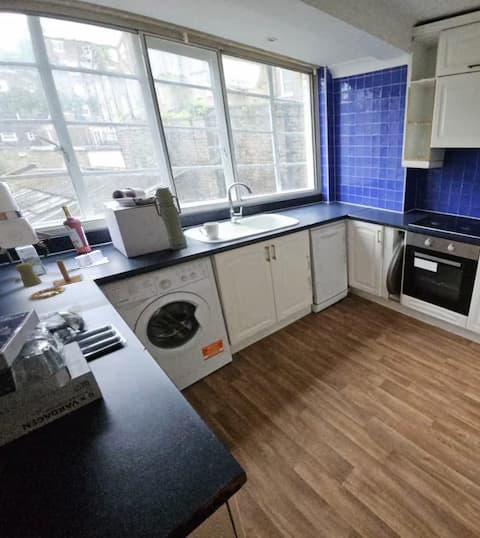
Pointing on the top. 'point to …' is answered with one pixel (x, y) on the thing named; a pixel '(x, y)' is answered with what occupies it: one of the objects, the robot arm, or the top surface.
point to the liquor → (75, 232)
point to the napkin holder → (91, 259)
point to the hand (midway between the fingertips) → (29, 259)
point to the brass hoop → (57, 289)
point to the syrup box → (31, 258)
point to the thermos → (170, 218)
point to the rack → (65, 276)
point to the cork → (28, 274)
